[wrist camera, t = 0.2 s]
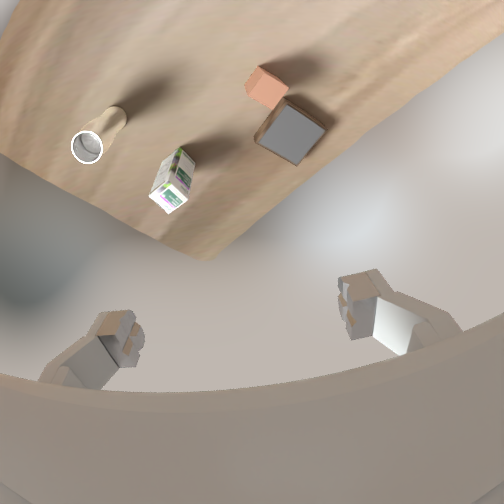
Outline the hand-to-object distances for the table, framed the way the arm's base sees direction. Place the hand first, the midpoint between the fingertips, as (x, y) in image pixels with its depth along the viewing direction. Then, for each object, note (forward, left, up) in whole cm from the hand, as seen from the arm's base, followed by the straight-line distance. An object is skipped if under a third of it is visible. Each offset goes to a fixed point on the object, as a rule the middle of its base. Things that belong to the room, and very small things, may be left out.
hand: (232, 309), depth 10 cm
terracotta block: (-2, +7, -51) cm, 52 cm away
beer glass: (+19, -17, -51) cm, 57 cm away
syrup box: (+23, +1, -51) cm, 56 cm away
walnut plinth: (+4, +18, -51) cm, 54 cm away
